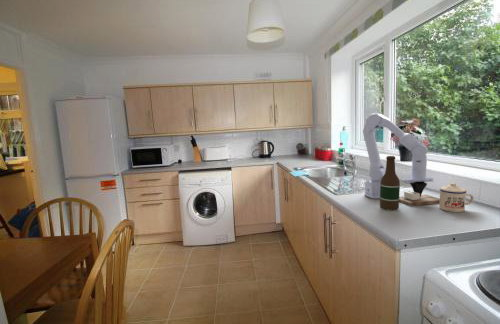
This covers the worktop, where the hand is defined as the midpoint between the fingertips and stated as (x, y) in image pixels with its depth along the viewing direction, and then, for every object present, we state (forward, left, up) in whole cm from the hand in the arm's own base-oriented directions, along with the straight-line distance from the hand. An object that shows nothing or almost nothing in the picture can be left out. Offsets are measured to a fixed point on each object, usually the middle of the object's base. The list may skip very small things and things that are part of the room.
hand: (417, 196), depth 121 cm
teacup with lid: (+6, -14, -3) cm, 15 cm away
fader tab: (-3, 0, 0) cm, 3 cm away
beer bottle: (-19, -5, -3) cm, 20 cm away
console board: (+1, 0, -2) cm, 2 cm away
